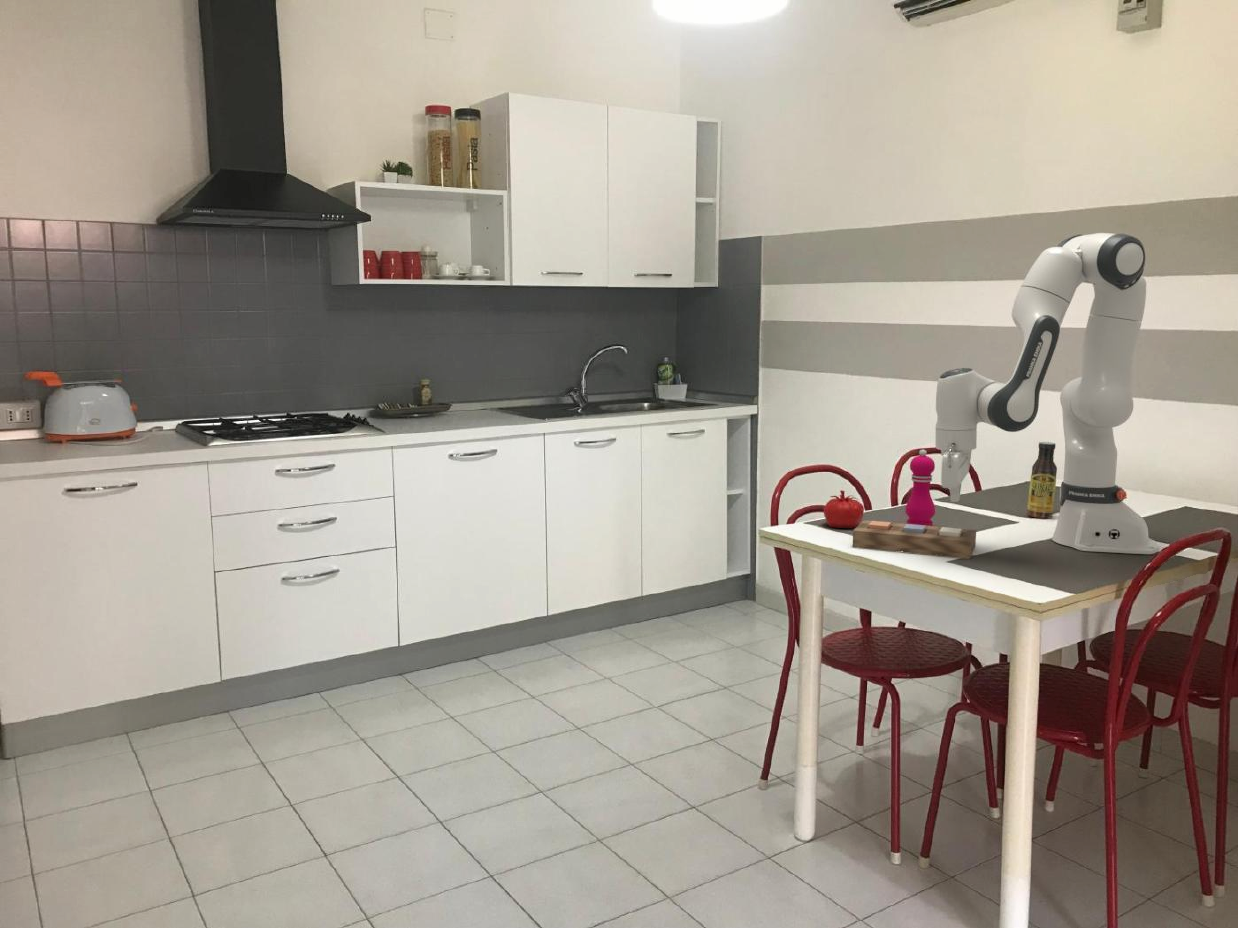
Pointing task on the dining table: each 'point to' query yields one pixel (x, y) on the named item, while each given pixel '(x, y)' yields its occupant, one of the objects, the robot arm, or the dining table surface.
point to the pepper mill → (921, 491)
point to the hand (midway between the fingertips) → (955, 500)
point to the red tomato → (843, 512)
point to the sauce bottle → (1042, 483)
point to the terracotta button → (880, 525)
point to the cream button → (950, 532)
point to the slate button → (914, 528)
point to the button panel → (915, 540)
